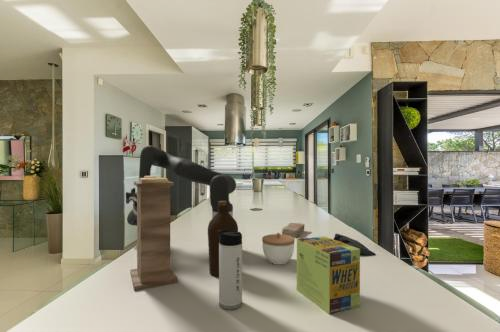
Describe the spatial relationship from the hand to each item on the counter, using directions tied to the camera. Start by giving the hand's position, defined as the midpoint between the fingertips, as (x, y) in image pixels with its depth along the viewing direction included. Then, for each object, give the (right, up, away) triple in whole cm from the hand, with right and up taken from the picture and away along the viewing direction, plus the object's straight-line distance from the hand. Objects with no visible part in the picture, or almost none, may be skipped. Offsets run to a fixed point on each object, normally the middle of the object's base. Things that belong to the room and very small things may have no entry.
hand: (146, 189), depth 109 cm
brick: (+65, -28, +42) cm, 83 cm away
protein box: (+63, -28, -31) cm, 76 cm away
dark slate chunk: (+87, -29, +16) cm, 93 cm away
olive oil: (+32, -28, -12) cm, 44 cm away
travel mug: (+36, -28, -35) cm, 57 cm away
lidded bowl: (+52, -28, -1) cm, 59 cm away
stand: (+9, -28, -17) cm, 34 cm away
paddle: (+7, +4, -13) cm, 15 cm away
